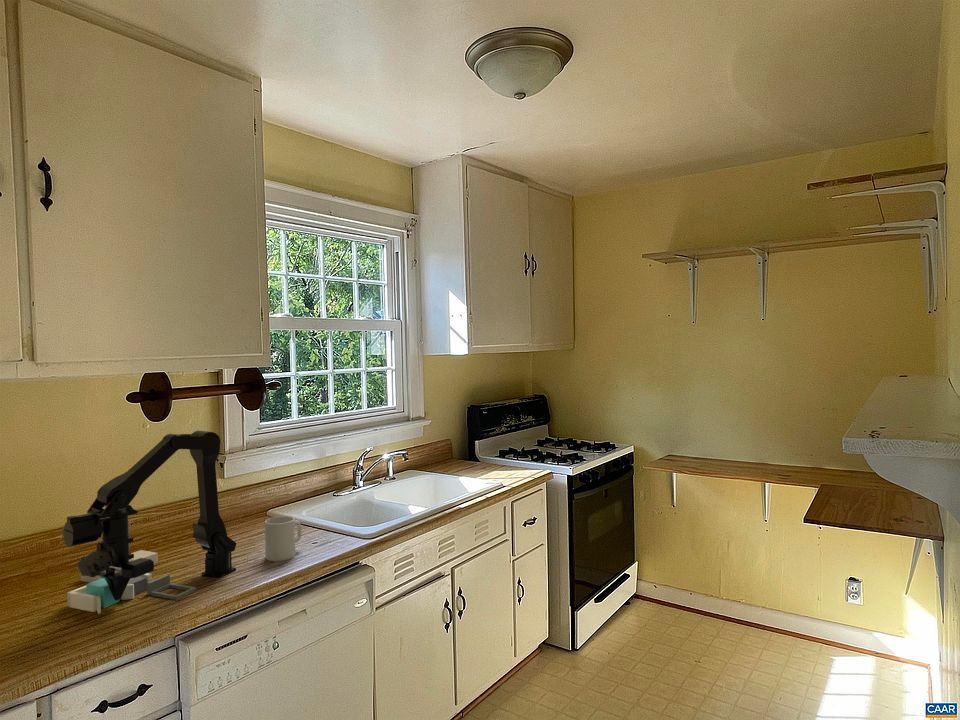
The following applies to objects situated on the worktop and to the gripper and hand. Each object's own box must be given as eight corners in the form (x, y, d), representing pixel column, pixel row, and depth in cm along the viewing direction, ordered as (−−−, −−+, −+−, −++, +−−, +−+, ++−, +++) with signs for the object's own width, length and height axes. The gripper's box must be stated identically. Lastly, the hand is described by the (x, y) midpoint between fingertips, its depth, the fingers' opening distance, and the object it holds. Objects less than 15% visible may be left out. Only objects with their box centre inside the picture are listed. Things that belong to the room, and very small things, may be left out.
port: (157, 588, 160) (157, 574, 160) (98, 613, 145) (98, 599, 145) (127, 582, 164) (126, 569, 164) (66, 607, 149) (65, 593, 149)
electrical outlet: (157, 549, 180) (97, 570, 163) (158, 563, 180) (98, 585, 163) (140, 546, 183) (80, 567, 166) (141, 560, 183) (80, 582, 166)
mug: (278, 563, 177) (277, 525, 177) (259, 558, 182) (258, 521, 181) (310, 551, 187) (309, 515, 187) (292, 546, 192) (291, 511, 191)
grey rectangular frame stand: (146, 594, 156) (146, 582, 156) (167, 585, 162) (167, 574, 161) (176, 599, 152) (175, 587, 152) (196, 590, 158) (195, 578, 158)
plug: (84, 604, 151) (84, 584, 150) (100, 597, 154) (99, 578, 154) (104, 607, 148) (103, 587, 148) (119, 601, 152) (118, 581, 152)
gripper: (55, 542, 145) (58, 607, 145) (112, 550, 138) (114, 618, 138) (100, 528, 155) (102, 590, 155) (154, 535, 148) (156, 599, 149)
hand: (117, 599), depth 149 cm, fingers closed
